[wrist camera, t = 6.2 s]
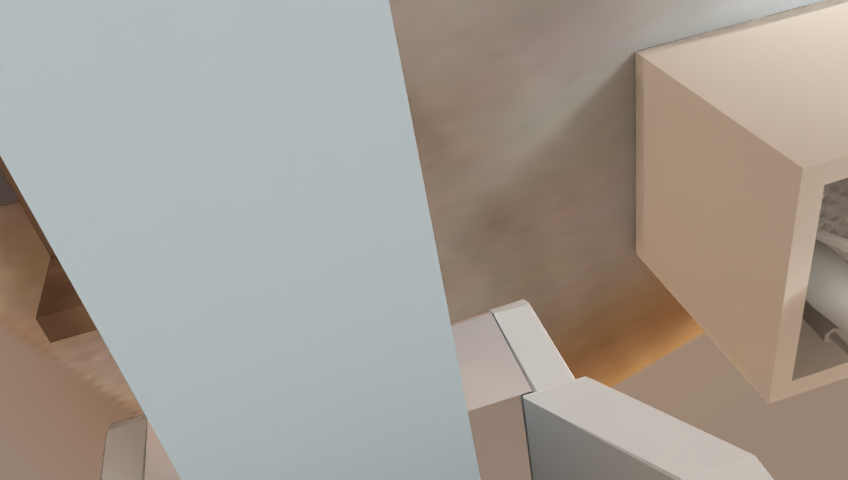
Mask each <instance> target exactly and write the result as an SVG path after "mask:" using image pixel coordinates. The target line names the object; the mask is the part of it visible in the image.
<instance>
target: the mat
mask: <svg viewBox="0 0 848 480" xmlns="http://www.w3.org/2000/svg"><path fill="white" fill-rule="evenodd" d="M17 201H19V200H18V198H17V196H16V194H15V192H14V191H13V189H12V187H11V185H10V184H9V182H8V180H7V178H6V176H5V175H4V173H3V171H2V169H1V168H0V206H2V205H6V204H10V203H13V202H17Z"/></svg>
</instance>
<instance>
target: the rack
mask: <svg viewBox="0 0 848 480" xmlns="http://www.w3.org/2000/svg"><path fill="white" fill-rule="evenodd" d="M0 168H1V169H2V171H3V173H4V175H5V176H6V178H7V180H8V182H9V184H10V185H11V187H12V189H13V191H14V192H15V194H16V196H17V198H18V200H19V201H20V203H21V205H22V207H23V208H24V210H25V212H26V214H27V216H28V217H29V219H30V221H31V223H32V224H33V226H34V228H35V230H36V232H37V233H38V235H39V237H40V239H41V240H42V242H43V244H44V246H45V248H46V249H47V251H48V253H49V255H50V256H51V259H50V263H49V267H48V271H47V275H46V279H45V283H44V287H43V291H42V295H41V300H40V304H39V308H38V312H37V316H36V320H37V321H38V323H39V324H40V326H41V328H42V329H43V331H44V333H45V334H46V336H47V338H48V339H49V341H50V342H55V341H58V340H62V339H65V338H69V337H72V336H75V335H79V334H82V333H86V332H89V331H93V330H96V329H97V328H96V326H95V324H94V322H93V321H92V319H91V317H90V315H89V313H88V312H87V310H86V308H85V306H84V305H83V303H82V301H81V299H80V297H79V296H78V294H77V292H76V290H75V288H74V287H73V285H72V283H71V281H70V279H69V278H68V276H67V274H66V272H65V271H64V269H63V267H62V265H61V263H60V262H59V260H58V258H57V256H56V254H55V253H54V251H53V249H52V247H51V245H50V244H49V242H48V240H47V238H46V237H45V235H44V233H43V231H42V229H41V228H40V226H39V224H38V222H37V220H36V219H35V217H34V215H33V213H32V211H31V210H30V208H29V206H28V204H27V203H26V201H25V199H24V197H23V195H22V194H21V192H20V190H19V188H18V186H17V185H16V183H15V181H14V179H13V177H12V176H11V174H10V172H9V170H8V169H7V167H6V165H5V163H4V161H3V160H2V158H1V156H0Z"/></svg>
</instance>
